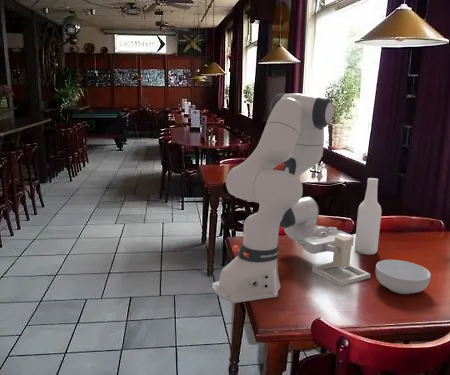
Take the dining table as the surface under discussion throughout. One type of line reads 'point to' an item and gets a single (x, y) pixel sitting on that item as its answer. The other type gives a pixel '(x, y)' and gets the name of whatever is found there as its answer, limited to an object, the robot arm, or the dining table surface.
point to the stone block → (342, 252)
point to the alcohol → (368, 221)
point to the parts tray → (360, 277)
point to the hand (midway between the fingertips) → (344, 249)
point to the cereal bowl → (402, 276)
